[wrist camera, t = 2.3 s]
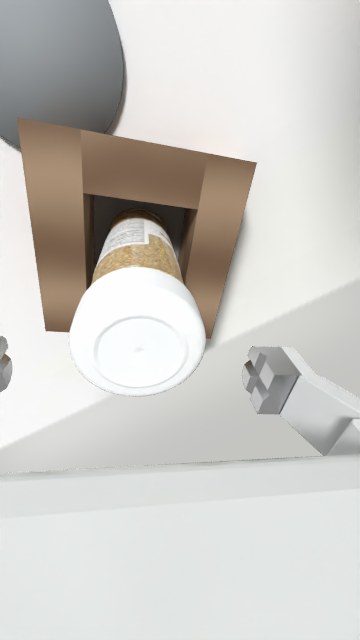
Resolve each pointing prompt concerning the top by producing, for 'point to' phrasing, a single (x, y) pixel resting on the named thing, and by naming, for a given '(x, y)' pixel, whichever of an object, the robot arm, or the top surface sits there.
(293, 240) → the top surface
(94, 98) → the coaster
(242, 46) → the top surface
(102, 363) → the sprinkles bottle
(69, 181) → the holder block
